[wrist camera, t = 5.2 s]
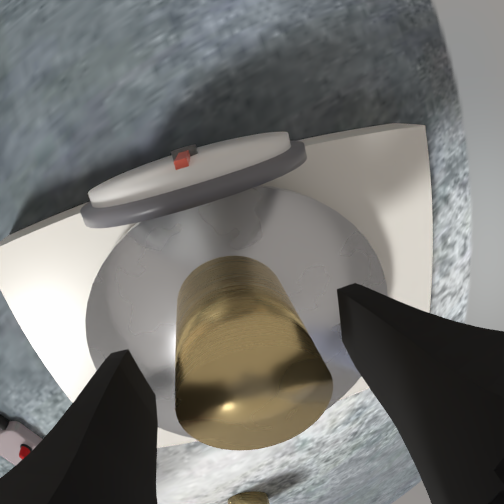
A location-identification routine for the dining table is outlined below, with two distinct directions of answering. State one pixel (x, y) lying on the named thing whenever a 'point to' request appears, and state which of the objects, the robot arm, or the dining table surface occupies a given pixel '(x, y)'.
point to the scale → (208, 190)
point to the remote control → (16, 440)
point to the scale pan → (220, 245)
